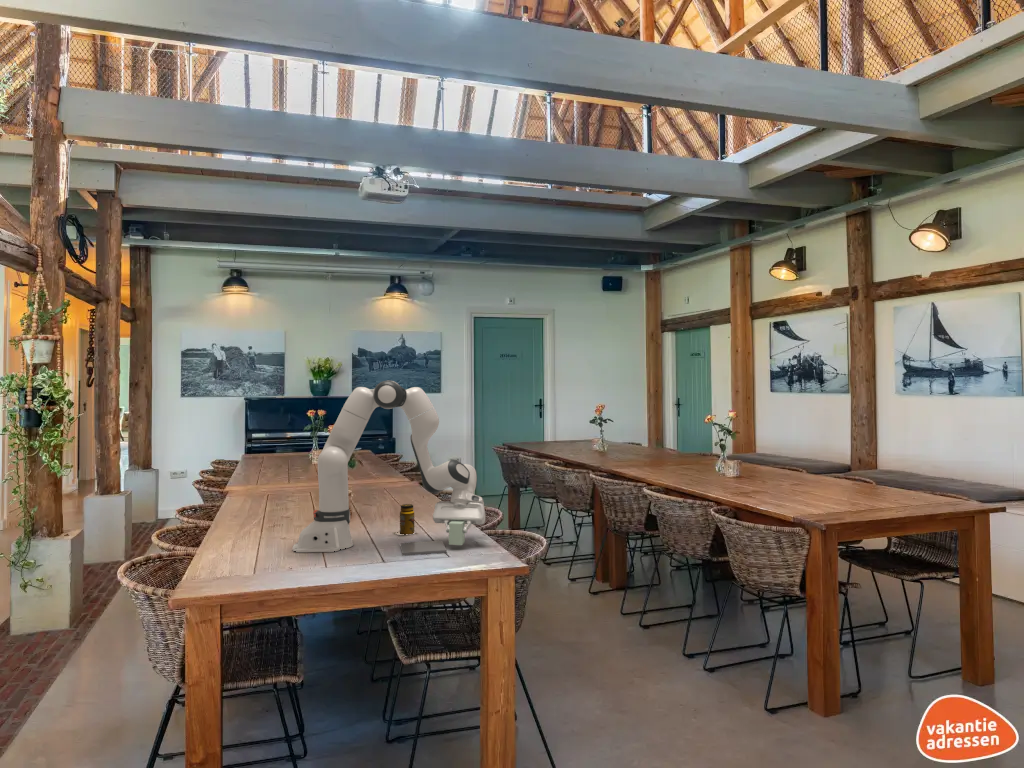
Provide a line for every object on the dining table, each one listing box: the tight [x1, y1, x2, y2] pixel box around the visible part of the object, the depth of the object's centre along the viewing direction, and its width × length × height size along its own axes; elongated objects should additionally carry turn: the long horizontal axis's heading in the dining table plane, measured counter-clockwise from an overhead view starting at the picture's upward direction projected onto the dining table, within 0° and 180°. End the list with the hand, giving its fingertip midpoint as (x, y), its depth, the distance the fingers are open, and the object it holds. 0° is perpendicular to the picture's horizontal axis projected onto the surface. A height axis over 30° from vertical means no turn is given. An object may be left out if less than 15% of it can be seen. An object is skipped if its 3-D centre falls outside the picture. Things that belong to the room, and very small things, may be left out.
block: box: [448, 521, 466, 546], centre depth 261 cm, size 5×5×8 cm
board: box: [400, 540, 448, 556], centre depth 260 cm, size 16×16×1 cm
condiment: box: [393, 503, 416, 536], centre depth 288 cm, size 7×8×12 cm
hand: (456, 532), depth 260 cm, fingers closed on block, 5 cm apart
